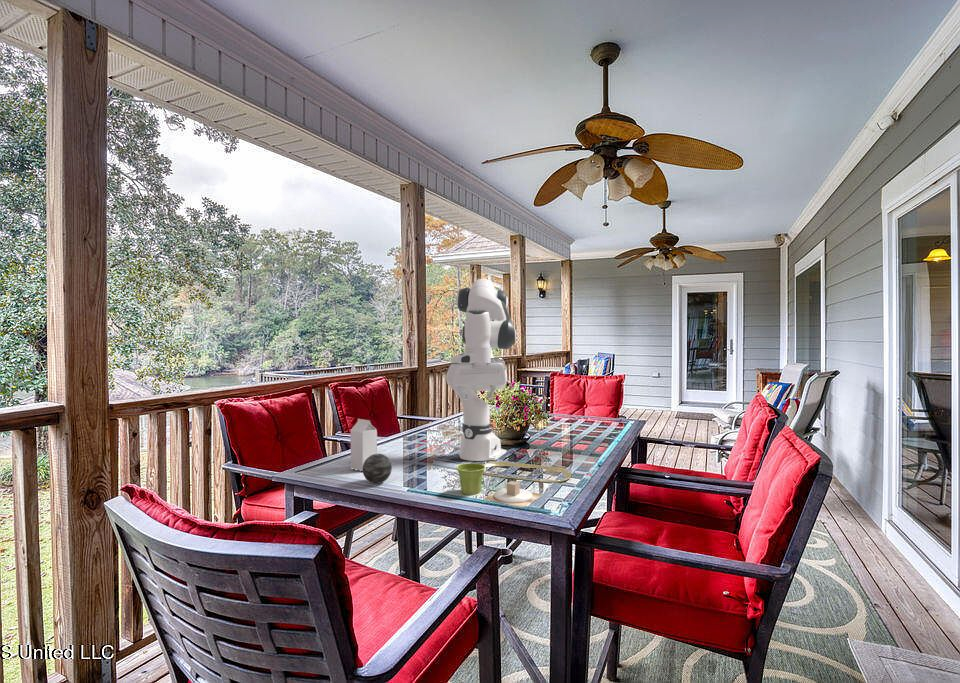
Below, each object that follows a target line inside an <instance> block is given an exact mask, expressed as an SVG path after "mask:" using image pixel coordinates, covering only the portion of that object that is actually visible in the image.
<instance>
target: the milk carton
mask: <svg viewBox="0 0 960 683" xmlns="http://www.w3.org/2000/svg"><path fill="white" fill-rule="evenodd" d="M373 454H378V430H377V428H376V427H375V426H374V425H372V423H371V420H369V419H363V418H362V419H361V418H357V421H356V423H355V424H354V425H353V426H352V428H351V429H350V469H351V468H353V469H357V470H361V471H363V464H364V462H365V460H366V459H367V458H368V457H369V456H371V455H373ZM353 469H352V470H353ZM357 470H356V471H357ZM361 471H360V472H361Z"/></svg>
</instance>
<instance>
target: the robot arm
mask: <svg viewBox="0 0 960 683" xmlns="http://www.w3.org/2000/svg"><path fill="white" fill-rule="evenodd" d="M455 301H456V302H455V303H456V305H457V306H456V307H457V309H458V311H459V312H463V313H466V315H465V320H464V326H462V330H461V331H462V337H461V340H462V341H461V342H462V343H463V344H464V350H463V351H464V352H462V353H459V354H456V355H453V356H451V357H450V362H451V364H450V365H449V367H448V370H447V371H446V375H445V380H446V383H447V385H448V387H449V388H450V389H451V390H453V391H454V392H455V393H456V395H457V397H458V398H459V399H460V401H461V402H460V403H461V405H462V413H463V414H462V415H463V416H462V417H463V423H462V424H461V425H462V426H461V431H462V434H461V435H460V441H459V442H460V443H459V451H458V452H457V455H458V456H459V458H460V459H461V460H464V461H469V462H471V461H473V462H481V461H482V462H483V461H484V462H485V461H496V460H498V459H499V458H501V457H502V456H504V455H505V454H506V453H507V450H506V449H504V448H502V444H501V439H500V438H499V437H498V436H497V435H496V434H495V433H494V432H493V429H495V427H496V424H495V422H494V423H493V422H490V412H491V411H490V404H489V403H488V402H487V401H486V400H484V399H482V398H480V397H479V396H478V395H477V392H476V391H478V392H488V393H486V399H488V400H492V399H494V393H495V391H499V390H502V389H504V387H505V386H506V384H507V382H508V374H507V372H506V369H505V368H506V361H505V360H504V359H503V358H502V357H494V353H493V349H500V350H509V349H510V348H512V347H513V346H514V345H515V343H516V341H517V340H516V339H517V330H516V327H515V324H514V323H513V322H512V320H511V315H510V314H509V311H508V305H509V297H508V296H507V293H506V291H504V290H501V289H496V288H495V286H494V283H493V282H492V281H491V280H489V279H487V278H479V279H476V280H475V281H474V282H473V283H472V285H471V286H470V287H463V288H460V290H459V291H458V293H457V295H456V299H455Z"/></svg>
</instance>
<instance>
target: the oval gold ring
mask: <svg viewBox="0 0 960 683" xmlns="http://www.w3.org/2000/svg"><path fill="white" fill-rule="evenodd" d="M482 465H484V466H485V469H487V468H486V467H488V468H492V467H491V466H493V467H512V466H515V467H514V468H521V467H522V468H525V469H530V468H542V469H548V470H547V471H549V470H553V471H552V472H556V471H557V473H560V472H561V473H560V474H563V475H565V477H566V478H563V479H557V480H541V479H540V480H539V479H533V478H532V479H531V478H523V477H514V476H507V475H498V474H489V473H486V472H484V473H483V475H484V476H489V477H496V478H503V479H513V480H518V481H519V480H522V481H528V482H529V481H530V482H538V483H558V484H560V483H563V482H566V481H568V480H569V479H570V478H571V477H572V474H571V472H570V471H569V470H567V469H565V468H560V467H556V466H549V465H548V466H546V465H538V464H530V463H529V464H528V463H520V462H512V461H511V462H510V461H509V462H508V461H496V462H494V461H493V462H487V463H483V464H482ZM522 468H521V469H522Z"/></svg>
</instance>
